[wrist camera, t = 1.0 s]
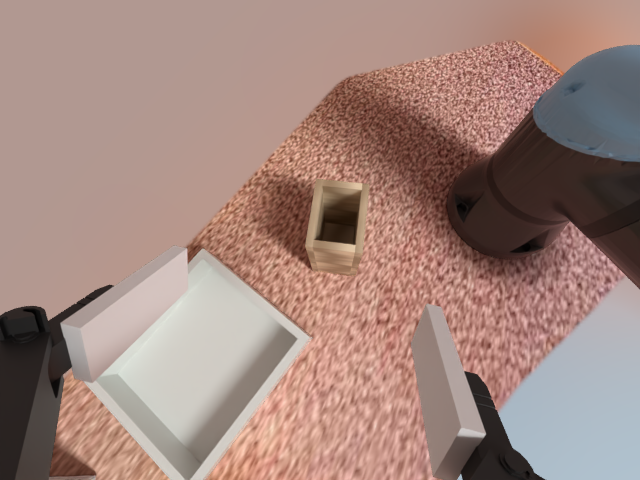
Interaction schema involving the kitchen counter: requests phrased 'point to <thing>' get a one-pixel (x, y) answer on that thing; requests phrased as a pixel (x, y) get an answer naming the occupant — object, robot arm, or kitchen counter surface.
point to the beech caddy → (337, 226)
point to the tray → (201, 370)
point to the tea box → (73, 478)
